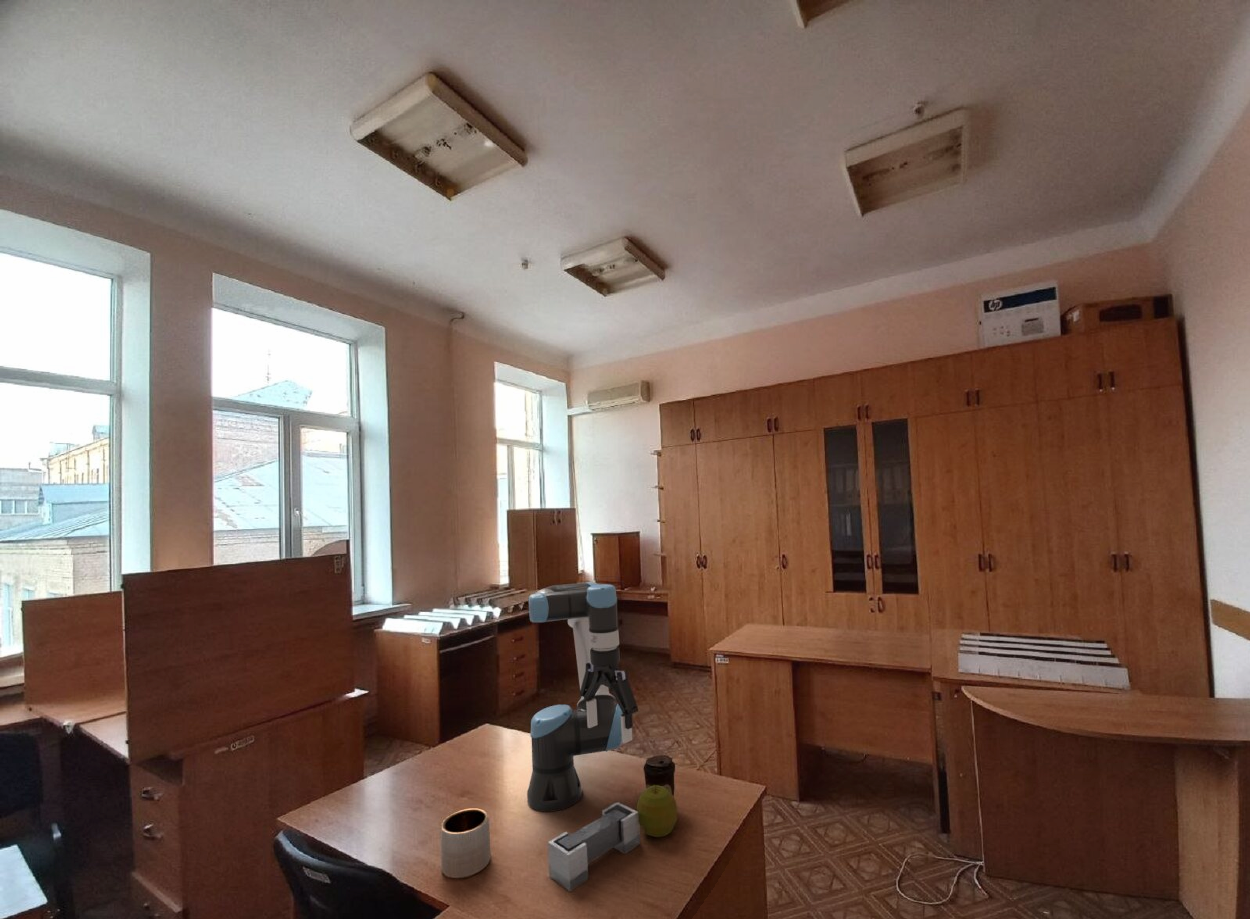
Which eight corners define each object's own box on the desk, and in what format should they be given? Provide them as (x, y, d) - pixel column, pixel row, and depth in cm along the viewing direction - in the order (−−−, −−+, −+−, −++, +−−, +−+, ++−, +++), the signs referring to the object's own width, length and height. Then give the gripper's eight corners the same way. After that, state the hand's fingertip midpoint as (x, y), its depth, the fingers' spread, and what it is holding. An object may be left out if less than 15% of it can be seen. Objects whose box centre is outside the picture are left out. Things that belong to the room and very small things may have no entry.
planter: (448, 853, 126) (447, 810, 127) (494, 847, 127) (492, 805, 128) (435, 883, 115) (434, 836, 116) (486, 877, 116) (484, 830, 117)
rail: (558, 866, 115) (557, 841, 116) (616, 831, 127) (615, 809, 127) (569, 874, 112) (568, 849, 113) (628, 838, 124) (626, 815, 124)
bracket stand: (549, 876, 115) (547, 842, 116) (619, 832, 130) (617, 802, 131) (570, 891, 110) (568, 855, 111) (640, 843, 125) (638, 812, 125)
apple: (638, 822, 134) (635, 776, 135) (677, 820, 133) (673, 774, 135) (638, 846, 124) (635, 796, 125) (679, 844, 123) (676, 794, 125)
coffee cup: (676, 823, 132) (672, 768, 133) (643, 822, 134) (640, 767, 135) (680, 804, 140) (676, 753, 142) (649, 803, 142) (645, 752, 143)
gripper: (564, 642, 142) (568, 725, 140) (626, 659, 123) (631, 754, 121) (586, 637, 147) (590, 716, 145) (649, 651, 128) (654, 742, 126)
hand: (609, 733), depth 133 cm, fingers open, 13 cm apart
